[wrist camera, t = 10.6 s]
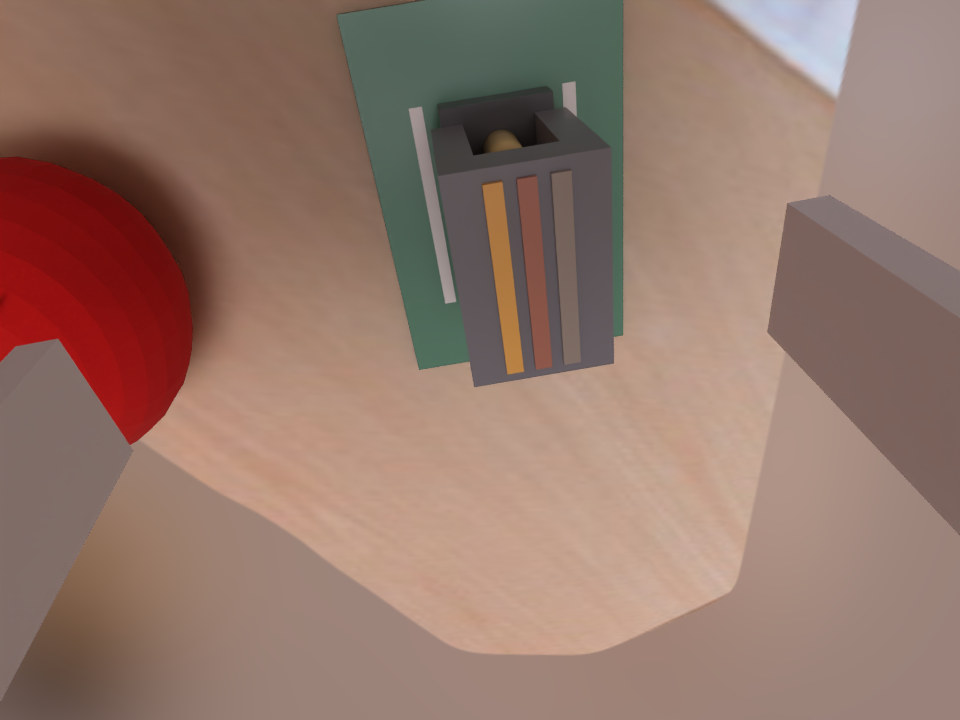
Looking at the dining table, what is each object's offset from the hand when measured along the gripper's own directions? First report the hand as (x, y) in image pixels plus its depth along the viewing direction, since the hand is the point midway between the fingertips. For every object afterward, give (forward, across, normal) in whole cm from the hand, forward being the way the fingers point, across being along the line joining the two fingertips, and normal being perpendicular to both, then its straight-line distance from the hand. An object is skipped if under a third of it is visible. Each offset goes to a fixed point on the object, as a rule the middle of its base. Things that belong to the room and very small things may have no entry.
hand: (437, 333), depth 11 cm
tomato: (+20, -18, -5) cm, 27 cm away
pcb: (+20, +3, -5) cm, 21 cm away
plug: (+18, +3, -5) cm, 19 cm away
